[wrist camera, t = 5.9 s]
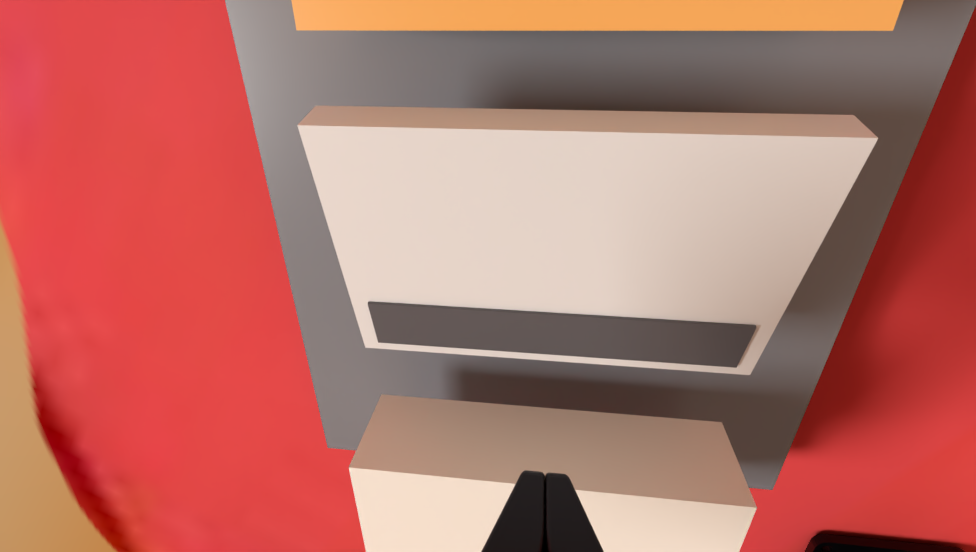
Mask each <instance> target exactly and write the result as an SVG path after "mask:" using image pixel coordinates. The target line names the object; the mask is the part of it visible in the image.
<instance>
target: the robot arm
mask: <svg viewBox="0 0 976 552" xmlns="http://www.w3.org/2000/svg"><path fill="white" fill-rule="evenodd" d="M481 552H604V551H603V549H602V547H601V545H600V542H599V540H598V538H597V536H596V534H595V532H594V529H593V527H592V525H591V523H590V521H589V519H588V517H587V514H586V512H585V510H584V508H583V506H582V504H581V501H580V499H579V497H578V495H577V493H576V491H575V489H574V486H573V484H572V482H571V480H570V478H569V477H568V476H567V475H566V474H561V473H550V472H549V473H547V474H546V475H544V473H543V472H539V471H529V470H525V471H523V472H522V473H521V474H520V476H519V478H518V480H517V482H516V484H515V486H514V488H513V490H512V492H511V494H510V496H509V498H508V500H507V502H506V504H505V506H504V508H503V510H502V512H501V514H500V516H499V518H498V520H497V522H496V524H495V526H494V527H493V529H492V531H491V533H490V535H489V537H488V539H487V541H486V543H485V545H484V547H483V549H482V551H481ZM805 552H965V551H964V550H963V549H961V548H956V547H946V546H936V545H926V544H917V543H907V542H897V541H887V540H878V539H868V538H858V537H849V536H839V535H829V534H820V535H816V536H814V537H813V538H812V539H811V540H810V542H809V544H808V546H807V548H806V550H805Z"/></svg>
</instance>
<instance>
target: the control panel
mask: <svg viewBox="0 0 976 552" xmlns="http://www.w3.org/2000/svg"><path fill="white" fill-rule="evenodd" d="M225 2H226V7H227V11H228V15H229V20H230V24H231V28H232V33H233V37H234V41H235V46H236V50H237V55H238V59H239V63H240V68H241V72H242V76H243V81H244V85H245V89H246V94H247V98H248V102H249V107H250V111H251V115H252V120H253V124H254V129H255V133H256V137H257V142H258V146H259V150H260V155H261V159H262V163H263V168H264V172H265V176H266V181H267V185H268V189H269V194H270V198H271V203H272V207H273V211H274V216H275V220H276V224H277V229H278V233H279V237H280V242H281V246H282V250H283V255H284V259H285V263H286V268H287V272H288V277H289V281H290V285H291V290H292V294H293V298H294V303H295V307H296V311H297V316H298V320H299V324H300V329H301V333H302V337H303V342H304V346H305V351H306V355H307V359H308V364H309V368H310V372H311V377H312V381H313V385H314V390H315V394H316V398H317V403H318V407H319V412H320V416H321V420H322V425H323V429H324V433H325V438H326V442H327V446H328V448H336V449H347V450H357V448H358V446H359V443H360V441H361V439H362V437H363V435H364V432H365V430H366V428H367V426H368V423H369V421H370V419H371V417H372V414H373V412H374V410H375V408H376V406H377V403H378V401H379V399H380V397H381V394H383V395H395V396H408V397H420V398H432V399H444V400H457V401H469V402H481V403H493V404H506V405H518V406H530V407H542V408H555V409H567V410H579V411H591V412H603V413H616V414H628V415H640V416H652V417H665V418H677V419H689V420H701V421H714V422H722V424H723V426H724V429H725V431H726V434H727V436H728V438H729V441H730V443H731V446H732V448H733V451H734V453H735V455H736V458H737V460H738V463H739V465H740V468H741V470H742V473H743V475H744V477H745V480H746V482H747V485H748V487H749V488H758V489H769V490H773V487H774V485H775V483H776V480H777V478H778V475H779V473H780V471H781V468H782V466H783V463H784V461H785V459H786V456H787V454H788V452H789V449H790V447H791V444H792V442H793V440H794V437H795V435H796V433H797V430H798V428H799V425H800V423H801V421H802V418H803V416H804V413H805V411H806V409H807V406H808V404H809V402H810V399H811V397H812V394H813V392H814V390H815V387H816V385H817V382H818V380H819V378H820V375H821V373H822V371H823V368H824V366H825V363H826V361H827V359H828V356H829V354H830V352H831V349H832V347H833V344H834V342H835V340H836V337H837V335H838V332H839V330H840V328H841V325H842V323H843V321H844V318H845V316H846V313H847V311H848V309H849V306H850V304H851V301H852V299H853V297H854V294H855V292H856V290H857V287H858V285H859V282H860V280H861V278H862V275H863V273H864V271H865V268H866V266H867V263H868V261H869V259H870V256H871V254H872V251H873V249H874V247H875V244H876V242H877V240H878V237H879V235H880V232H881V230H882V228H883V225H884V223H885V221H886V218H887V216H888V213H889V211H890V209H891V206H892V204H893V201H894V199H895V197H896V194H897V192H898V190H899V187H900V185H901V182H902V180H903V178H904V175H905V173H906V170H907V168H908V166H909V163H910V161H911V159H912V156H913V154H914V151H915V149H916V147H917V144H918V142H919V140H920V137H921V135H922V132H923V130H924V128H925V125H926V123H927V120H928V118H929V116H930V113H931V111H932V109H933V106H934V104H935V101H936V99H937V97H938V94H939V92H940V89H941V87H942V85H943V82H944V80H945V78H946V75H947V73H948V70H949V68H950V66H951V63H952V61H953V59H954V56H955V54H956V51H957V49H958V47H959V44H960V42H961V39H962V37H963V35H964V32H965V30H966V28H967V25H968V23H969V20H970V18H971V16H972V13H973V11H974V9H975V6H976V0H904V1H903V4H902V7H901V10H900V12H899V15H898V18H897V21H896V24H895V26H894V29H893V31H356V30H296V24H295V19H294V13H293V7H292V1H291V0H225ZM315 106H369V107H427V108H484V109H541V110H598V111H656V112H713V113H770V114H827V115H854V116H855V117H856V118H857V119H859V120H860V121H861V122H862V123H863V124H864V125H865V126H866V127H867V128H868V129H869V130H870V131H871V132H872V133H873V134H875V135H876V136H877V137H878V140H877V142H876V143H875V145H874V147H873V149H872V151H871V153H870V155H869V156H868V158H867V160H866V162H865V164H864V166H863V167H862V169H861V171H860V173H859V175H858V177H857V179H856V180H855V182H854V184H853V186H852V188H851V190H850V191H849V193H848V195H847V197H846V199H845V201H844V203H843V204H842V206H841V208H840V210H839V212H838V214H837V215H836V217H835V219H834V221H833V223H832V225H831V227H830V228H829V230H828V232H827V234H826V236H825V238H824V239H823V241H822V243H821V245H820V247H819V249H818V251H817V252H816V254H815V256H814V258H813V260H812V262H811V263H810V265H809V267H808V269H807V271H806V273H805V275H804V276H803V278H802V280H801V282H800V284H799V286H798V287H797V289H796V291H795V293H794V295H793V297H792V299H791V300H790V302H789V304H788V306H787V308H786V310H785V311H784V313H783V315H782V317H781V319H780V321H779V323H778V324H777V326H776V328H775V330H774V332H773V334H772V335H771V337H770V339H769V341H768V343H767V345H766V347H765V348H764V350H763V352H762V354H761V356H760V358H759V359H758V361H757V363H756V365H755V367H754V369H753V370H752V372H751V374H750V375H741V374H727V373H713V372H699V371H685V370H671V369H657V368H643V367H629V366H615V365H601V364H587V363H573V362H560V361H546V360H532V359H518V358H504V357H490V356H476V355H462V354H448V353H434V352H420V351H406V350H392V349H378V348H365V345H364V342H363V338H362V335H361V332H360V328H359V325H358V322H357V319H356V315H355V312H354V309H353V306H352V302H351V299H350V296H349V293H348V289H347V286H346V283H345V280H344V276H343V273H342V270H341V266H340V263H339V260H338V257H337V253H336V250H335V247H334V244H333V240H332V237H331V234H330V231H329V227H328V224H327V221H326V218H325V214H324V211H323V208H322V204H321V201H320V198H319V195H318V191H317V188H316V185H315V182H314V178H313V175H312V172H311V169H310V165H309V162H308V159H307V156H306V152H305V149H304V146H303V142H302V139H301V136H300V133H299V129H298V126H297V125H298V124H299V123H300V122H301V121H302V120H303V119H304V118H305V116H306V115H307V114H308V113H309V112H310V111H311V110H312V109H313V108H314V107H315Z"/></svg>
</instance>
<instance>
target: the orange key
mask: <svg viewBox="0 0 976 552" xmlns="http://www.w3.org/2000/svg"><path fill="white" fill-rule="evenodd" d="M291 1H292V7H293V13H294V19H295V24H296V30H356V31H893V29H894V26H895V24H896V21H897V18H898V15H899V12H900V10H901V7H902V4H903V1H904V0H291Z"/></svg>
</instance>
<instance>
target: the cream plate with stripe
mask: <svg viewBox="0 0 976 552" xmlns="http://www.w3.org/2000/svg"><path fill="white" fill-rule="evenodd" d="M297 126H298V129H299V133H300V136H301V139H302V142H303V146H304V149H305V152H306V156H307V159H308V162H309V165H310V169H311V172H312V175H313V178H314V182H315V185H316V188H317V191H318V195H319V198H320V201H321V204H322V208H323V211H324V214H325V218H326V221H327V224H328V227H329V231H330V234H331V237H332V240H333V244H334V247H335V250H336V253H337V257H338V260H339V263H340V266H341V270H342V273H343V276H344V280H345V283H346V286H347V289H348V293H349V296H350V299H351V302H352V306H353V309H354V312H355V315H356V319H357V322H358V325H359V328H360V332H361V335H362V338H363V342H364V345H365V348H378V349H392V350H406V351H420V352H434V353H448V354H462V355H476V356H490V357H504V358H518V359H532V360H546V361H560V362H573V363H587V364H601V365H615V366H629V367H643V368H657V369H671V370H685V371H699V372H713V373H727V374H741V375H750V374H751V372H752V370H753V369H754V367H755V365H756V363H757V361H758V359H759V358H760V356H761V354H762V352H763V350H764V348H765V347H766V345H767V343H768V341H769V339H770V337H771V335H772V334H773V332H774V330H775V328H776V326H777V324H778V323H779V321H780V319H781V317H782V315H783V313H784V311H785V310H786V308H787V306H788V304H789V302H790V300H791V299H792V297H793V295H794V293H795V291H796V289H797V287H798V286H799V284H800V282H801V280H802V278H803V276H804V275H805V273H806V271H807V269H808V267H809V265H810V263H811V262H812V260H813V258H814V256H815V254H816V252H817V251H818V249H819V247H820V245H821V243H822V241H823V239H824V238H825V236H826V234H827V232H828V230H829V228H830V227H831V225H832V223H833V221H834V219H835V217H836V215H837V214H838V212H839V210H840V208H841V206H842V204H843V203H844V201H845V199H846V197H847V195H848V193H849V191H850V190H851V188H852V186H853V184H854V182H855V180H856V179H857V177H858V175H859V173H860V171H861V169H862V167H863V166H864V164H865V162H866V160H867V158H868V156H869V155H870V153H871V151H872V149H873V147H874V145H875V143H876V142H877V140H878V137H877V136H876V135H875V134H873V133H872V132H871V131H870V130H869V129H868V128H867V127H866V126H865V125H864V124H863V123H862V122H861V121H860V120H859V119H857V118H856V117H855V116H854V115H827V114H770V113H713V112H656V111H598V110H541V109H484V108H427V107H369V106H315V107H314V108H313V109H312V110H311V111H310V112H309V113H308V114H307V115H306V116H305V118H304V119H303V120H302V121H301V122H300V123H299V124H298V125H297Z"/></svg>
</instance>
